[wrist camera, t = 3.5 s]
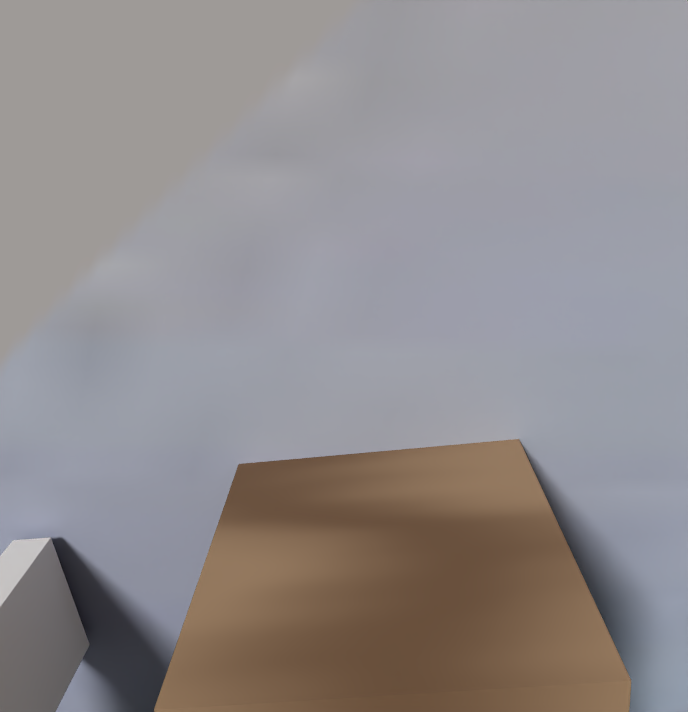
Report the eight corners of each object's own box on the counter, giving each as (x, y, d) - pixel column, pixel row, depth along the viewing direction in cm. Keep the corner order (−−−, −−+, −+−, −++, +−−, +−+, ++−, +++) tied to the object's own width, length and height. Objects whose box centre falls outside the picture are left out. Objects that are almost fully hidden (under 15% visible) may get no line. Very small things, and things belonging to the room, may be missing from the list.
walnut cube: (282, 664, 13) (238, 969, 9) (239, 462, 11) (154, 709, 7) (521, 648, 13) (612, 958, 8) (517, 437, 11) (631, 680, 6)
